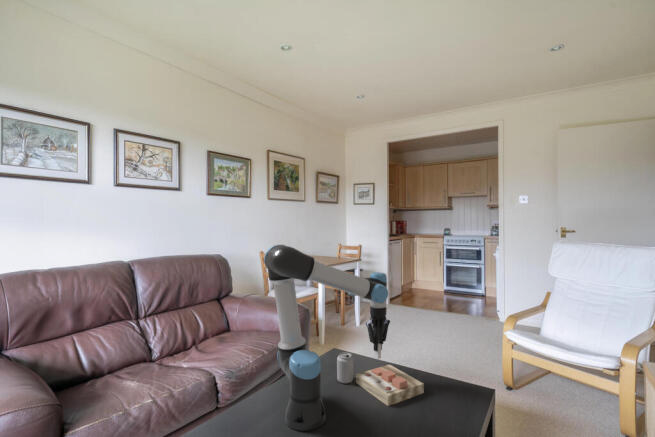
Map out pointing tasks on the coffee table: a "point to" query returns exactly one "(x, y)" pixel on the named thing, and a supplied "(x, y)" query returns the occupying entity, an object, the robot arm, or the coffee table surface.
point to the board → (389, 386)
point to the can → (345, 368)
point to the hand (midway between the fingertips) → (377, 357)
